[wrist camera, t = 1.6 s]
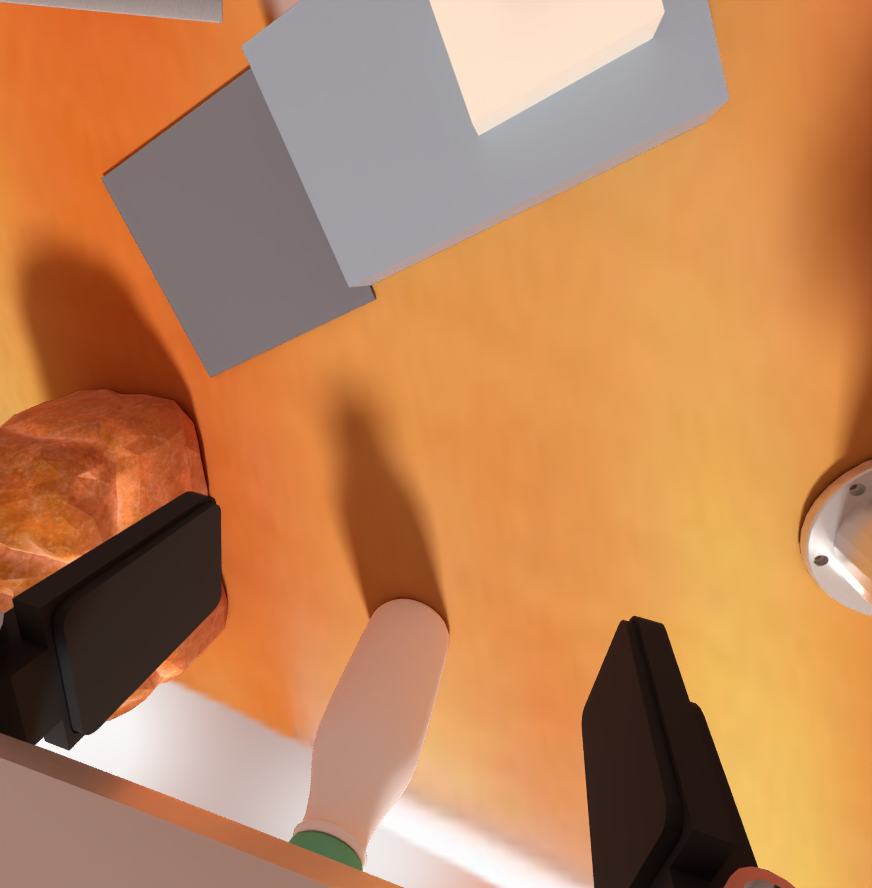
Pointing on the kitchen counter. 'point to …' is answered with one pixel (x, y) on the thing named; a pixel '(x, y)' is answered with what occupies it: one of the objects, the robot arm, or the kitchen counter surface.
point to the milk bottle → (373, 730)
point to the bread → (94, 492)
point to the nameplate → (142, 7)
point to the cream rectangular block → (534, 47)
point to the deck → (455, 124)
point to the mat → (231, 230)
